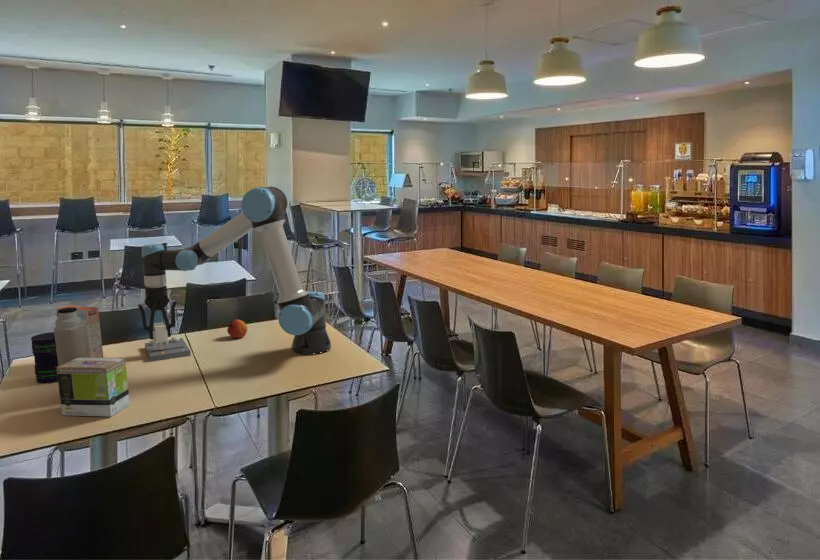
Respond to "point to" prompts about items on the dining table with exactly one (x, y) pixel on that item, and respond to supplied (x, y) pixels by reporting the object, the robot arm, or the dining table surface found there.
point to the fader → (160, 334)
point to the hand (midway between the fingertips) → (161, 346)
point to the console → (168, 349)
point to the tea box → (93, 386)
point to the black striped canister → (45, 357)
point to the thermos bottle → (69, 336)
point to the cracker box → (90, 329)
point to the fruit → (237, 329)
